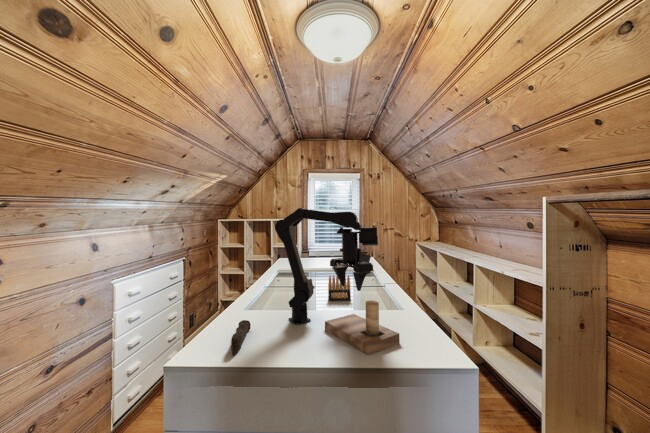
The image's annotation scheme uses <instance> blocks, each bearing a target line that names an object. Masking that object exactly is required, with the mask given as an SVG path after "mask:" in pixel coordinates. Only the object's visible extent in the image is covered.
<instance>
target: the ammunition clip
mask: <svg viewBox="0 0 650 433" xmlns="http://www.w3.org/2000/svg"><path fill="white" fill-rule="evenodd" d="M350 280H351V278H350V275H349V274H348V275H347V277H346V276H345V286H342V285H341V283H340V281H339V279H338V277H337V276H336V277H335V275H333V276H332V277H331V275H329V276H328V285H327V286H328V288H327V289H328V293H327V294H328V295H327V296H328V298H327V299H328V302H351V301H352V299H351V298H352V296H351V281H350Z"/></svg>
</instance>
